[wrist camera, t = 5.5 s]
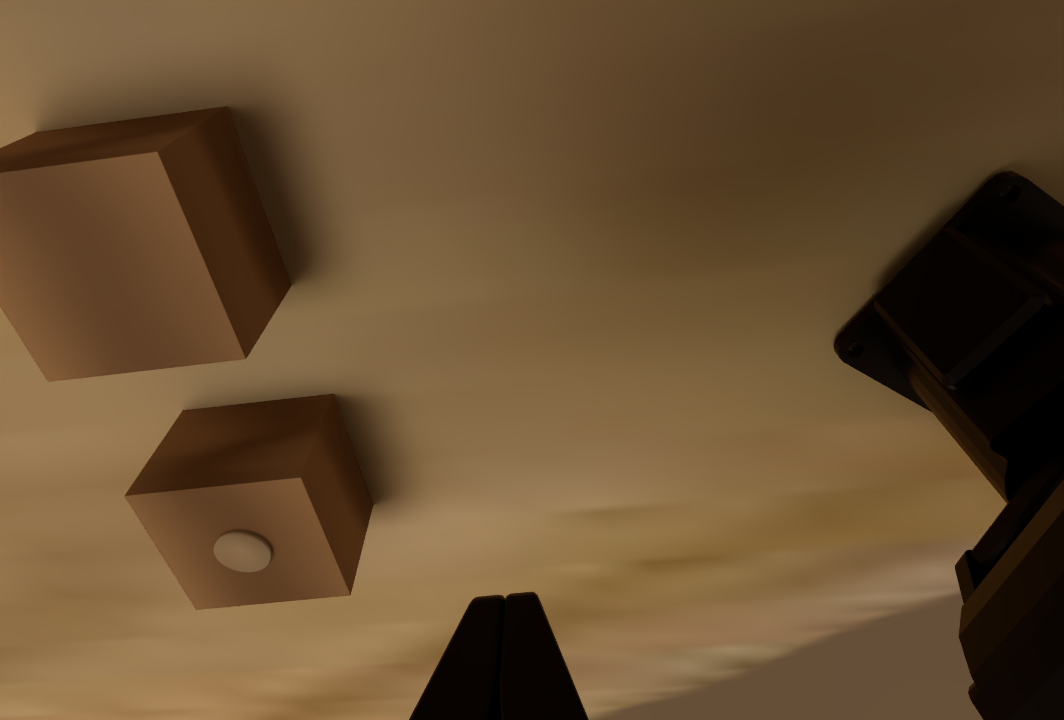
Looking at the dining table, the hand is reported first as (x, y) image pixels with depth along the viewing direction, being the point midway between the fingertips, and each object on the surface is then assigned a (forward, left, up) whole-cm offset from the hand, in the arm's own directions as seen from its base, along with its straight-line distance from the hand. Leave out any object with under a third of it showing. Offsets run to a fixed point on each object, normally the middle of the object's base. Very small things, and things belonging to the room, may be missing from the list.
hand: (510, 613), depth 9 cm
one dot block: (+3, +11, -12) cm, 17 cm away
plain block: (+8, +4, -12) cm, 15 cm away
